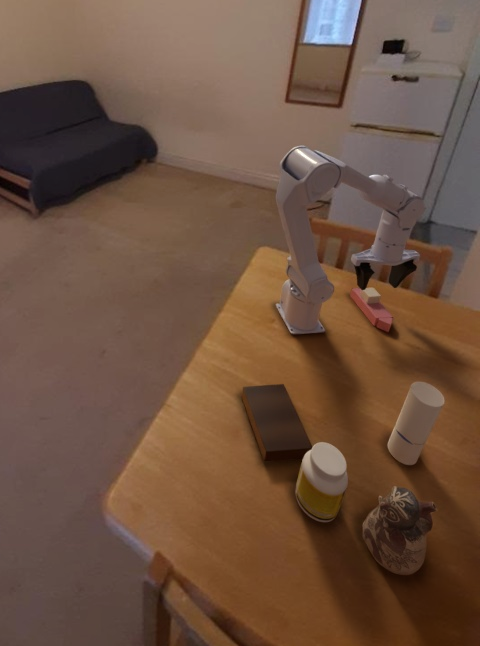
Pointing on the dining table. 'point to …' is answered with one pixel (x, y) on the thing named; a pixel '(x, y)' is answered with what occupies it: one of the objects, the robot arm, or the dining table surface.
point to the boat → (372, 307)
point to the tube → (415, 422)
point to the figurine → (399, 531)
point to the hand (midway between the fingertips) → (376, 286)
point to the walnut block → (275, 423)
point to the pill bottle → (322, 482)
